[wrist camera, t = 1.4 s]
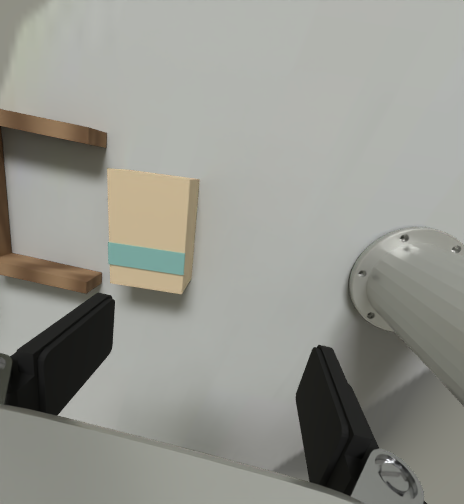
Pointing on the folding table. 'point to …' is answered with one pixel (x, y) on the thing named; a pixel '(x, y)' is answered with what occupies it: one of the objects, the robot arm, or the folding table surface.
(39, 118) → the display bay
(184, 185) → the carton
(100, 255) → the folding table surface
